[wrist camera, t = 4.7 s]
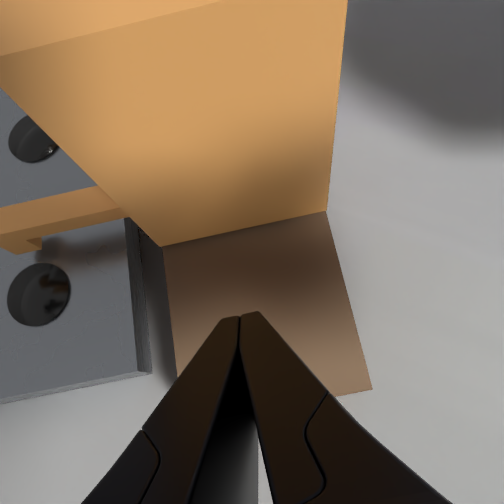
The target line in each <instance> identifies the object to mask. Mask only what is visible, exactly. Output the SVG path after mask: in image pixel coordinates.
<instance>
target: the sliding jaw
mask: <svg viewBox="0 0 504 504" xmlns="http://www.w3.org/2000/svg"><path fill="white" fill-rule="evenodd" d="M347 3H348V0H0V88H1V89H2V90H3V91H4V92H5V93H6V94H7V95H8V96H9V97H10V98H11V99H12V100H13V101H14V102H15V103H16V104H17V105H18V106H19V107H20V108H21V109H22V110H23V111H24V112H25V113H26V114H27V115H28V116H29V117H30V118H31V119H32V120H33V121H34V122H35V123H36V124H37V125H38V126H39V127H40V128H41V129H42V130H43V131H44V132H45V133H46V134H47V135H48V136H49V137H50V138H51V139H52V140H53V141H54V142H55V143H56V144H57V145H58V146H59V147H60V148H61V149H62V150H63V151H64V152H65V153H66V154H67V155H68V156H69V157H70V158H71V159H72V160H73V161H74V162H75V163H76V164H77V165H78V166H79V167H80V168H81V169H82V170H83V171H84V172H85V173H86V174H87V175H88V176H89V177H90V178H91V179H92V180H93V181H94V182H95V183H96V184H97V186H93V187H89V188H84V189H80V190H75V191H71V192H67V193H62V194H58V195H53V196H49V197H45V198H40V199H36V200H32V201H27V202H23V203H18V204H14V205H10V206H5V207H1V208H0V247H1V248H3V249H5V250H7V251H9V252H11V253H13V254H16V255H18V254H23V253H27V252H32V251H36V250H41V249H42V236H46V235H51V234H55V233H60V232H64V231H69V230H73V229H78V228H82V227H87V226H91V225H96V224H100V223H105V222H109V221H114V220H118V219H123V218H127V217H130V218H131V219H132V220H133V221H134V222H135V223H136V224H137V225H138V226H139V227H140V228H141V229H142V230H143V231H144V232H145V233H146V234H147V235H148V236H149V237H150V238H151V239H152V240H153V241H154V242H155V243H156V244H157V245H158V246H159V247H162V246H166V245H171V244H175V243H180V242H185V241H189V240H194V239H198V238H203V237H207V236H212V235H217V234H221V233H226V232H230V231H235V230H240V229H244V228H249V227H253V226H258V225H263V224H267V223H272V222H276V221H281V220H285V219H290V218H295V217H299V216H304V215H308V214H313V213H318V212H322V211H327V203H328V193H329V183H330V173H331V163H332V153H333V143H334V133H335V123H336V113H337V103H338V93H339V83H340V73H341V63H342V53H343V43H344V33H345V23H346V13H347Z"/></svg>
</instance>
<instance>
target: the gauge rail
mask: <svg viewBox="0 0 504 504" xmlns="http://www.w3.org/2000/svg"><path fill="white" fill-rule="evenodd" d="M162 251H163V260H164V268H165V276H166V285H167V293H168V301H169V310H170V318H171V326H172V335H173V343H174V351H175V360H176V368H177V377H179V375H180V374H181V373H182V371H183V370H184V369H185V367H186V366H187V365H188V363H189V362H190V360H191V359H192V358H193V356H194V355H195V354H196V352H197V351H198V349H199V348H200V347H201V345H202V344H203V343H204V341H205V340H206V338H207V337H208V336H209V334H210V333H211V332H212V330H213V329H214V327H215V326H216V325H217V323H218V322H219V321H220V320H221V319H222V318H226V317H231V316H236V315H238V316H240V317H241V315H242V314H245V313H250V312H255V311H259V312H260V313H261V314H262V315H263V316H264V317H265V318H266V319H267V321H268V322H269V323H270V324H271V325H272V326H273V327H274V329H275V330H276V331H277V332H278V333H279V334H280V335H281V337H282V338H283V339H284V340H285V341H286V342H287V343H288V345H289V346H290V347H291V348H292V349H293V350H294V351H295V353H296V354H297V355H298V356H299V357H300V358H301V359H302V361H303V362H304V363H305V364H306V365H307V366H308V367H309V369H310V370H311V371H312V372H313V373H314V374H315V376H316V377H317V378H318V379H319V380H320V381H321V382H322V384H323V385H324V386H325V387H326V388H327V389H328V390H329V392H330V394H332V395H333V396H334V397H336V396H341V395H347V394H352V393H357V392H362V391H367V390H372V385H371V381H370V378H369V374H368V370H367V366H366V362H365V359H364V355H363V351H362V347H361V343H360V340H359V336H358V332H357V328H356V324H355V321H354V317H353V313H352V309H351V305H350V302H349V298H348V294H347V290H346V286H345V283H344V279H343V275H342V271H341V267H340V264H339V260H338V256H337V252H336V249H335V245H334V241H333V237H332V233H331V230H330V226H329V222H328V218H327V214H326V211H322V212H318V213H313V214H308V215H304V216H299V217H295V218H290V219H285V220H281V221H276V222H272V223H267V224H263V225H258V226H253V227H249V228H244V229H240V230H235V231H230V232H226V233H221V234H217V235H212V236H207V237H203V238H198V239H194V240H189V241H185V242H180V243H175V244H171V245H166V246H162Z"/></svg>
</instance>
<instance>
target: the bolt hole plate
mask: <svg viewBox="0 0 504 504" xmlns="http://www.w3.org/2000/svg"><path fill="white" fill-rule="evenodd" d="M93 186H97V184H96V183H95V182H94V181H93V180H92V179H91V178H90V177H89V176H88V175H87V174H86V173H85V172H84V171H83V170H82V169H81V168H80V167H79V166H78V165H77V164H76V163H75V162H74V161H73V160H72V159H71V158H70V157H69V156H68V155H67V154H66V153H65V152H64V151H63V150H62V149H61V148H60V147H59V146H58V145H57V144H56V143H55V142H54V141H53V140H52V139H51V138H50V137H49V136H48V135H47V134H46V133H45V132H44V131H43V130H42V129H41V128H40V127H39V126H38V125H37V124H36V123H35V122H34V121H33V120H32V119H31V118H30V117H29V116H28V115H27V114H26V113H25V112H24V111H23V110H22V109H21V108H20V107H19V106H18V105H17V104H16V103H15V102H14V101H13V100H12V99H11V98H10V97H9V96H8V95H7V94H6V93H5V92H4V91H3V90H2V89H1V88H0V208H1V207H5V206H10V205H14V204H18V203H23V202H27V201H32V200H36V199H40V198H45V197H49V196H53V195H58V194H62V193H67V192H71V191H75V190H80V189H84V188H89V187H93ZM147 374H152V364H151V354H150V344H149V334H148V324H147V314H146V304H145V294H144V285H143V275H142V265H141V255H140V245H139V235H138V225H137V224H136V223H135V222H134V221H133V220H132V219H131V218H130V217H127V218H123V219H118V220H114V221H109V222H105V223H100V224H96V225H91V226H87V227H82V228H78V229H73V230H69V231H64V232H60V233H55V234H51V235H46V236H42V249H41V250H36V251H32V252H27V253H23V254H18V255H16V254H13V253H11V252H9V251H7V250H5V249H3V248H1V247H0V404H3V403H8V402H13V401H18V400H23V399H28V398H33V397H38V396H43V395H48V394H53V393H58V392H63V391H68V390H73V389H78V388H83V387H88V386H93V385H98V384H103V383H108V382H113V381H118V380H123V379H127V378H132V377H137V376H142V375H147Z"/></svg>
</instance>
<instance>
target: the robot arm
mask: <svg viewBox="0 0 504 504" xmlns="http://www.w3.org/2000/svg"><path fill="white" fill-rule="evenodd" d="M258 438H259V442H260V447H261V451H262V456H263V460H264V464H265V469H266V473H267V478H268V482H269V487H270V491H271V496H272V500H273V504H453V503H451V502H450V501H449V500H447V499H446V498H445V497H444V496H442V495H441V494H440V493H439V492H437V491H436V490H435V489H434V488H433V487H432V486H430V485H429V484H428V483H427V482H426V481H424V480H423V479H422V478H421V477H420V476H419V475H417V474H416V473H415V472H414V471H413V470H412V469H410V468H409V467H408V466H407V465H406V464H405V463H403V462H402V461H401V460H400V459H399V458H398V457H396V456H395V455H394V454H393V453H392V452H391V451H389V450H388V449H387V448H386V447H385V446H384V445H382V444H381V443H380V442H379V441H378V440H377V439H376V438H374V437H373V436H372V435H371V434H370V433H369V432H368V431H367V430H366V429H365V428H364V427H362V426H361V425H360V424H359V423H358V422H357V421H356V420H355V419H354V418H353V417H352V416H351V414H350V413H349V412H348V411H347V410H346V409H345V408H344V407H343V406H342V405H341V404H340V403H339V401H338V400H337V399H336V398H335V397H334V396H333V395H332V394H330V392H329V390H328V389H327V388H326V387H325V386H324V385H323V384H322V382H321V381H320V380H319V379H318V378H317V377H316V376H315V374H314V373H313V372H312V371H311V370H310V369H309V367H308V366H307V365H306V364H305V363H304V362H303V361H302V359H301V358H300V357H299V356H298V355H297V354H296V353H295V351H294V350H293V349H292V348H291V347H290V346H289V345H288V343H287V342H286V341H285V340H284V339H283V338H282V337H281V335H280V334H279V333H278V332H277V331H276V330H275V329H274V327H273V326H272V325H271V324H270V323H269V322H268V321H267V319H266V318H265V317H264V316H263V315H262V314H261V313H260V312H259V311H255V312H250V313H245V314H242V315H241V317H240V316H238V315H236V316H231V317H226V318H222V319H221V320H220V321H219V322H218V323H217V325H216V326H215V327H214V329H213V330H212V332H211V333H210V334H209V336H208V337H207V338H206V340H205V341H204V343H203V344H202V345H201V347H200V348H199V349H198V351H197V352H196V354H195V355H194V356H193V358H192V359H191V360H190V362H189V363H188V365H187V366H186V367H185V369H184V370H183V371H182V373H181V374H180V375H179V377H178V378H177V380H176V381H175V382H174V384H173V385H172V386H171V388H170V389H169V391H168V392H167V393H166V395H165V396H164V397H163V399H162V400H161V402H160V403H159V404H158V406H157V407H156V408H155V410H154V411H153V413H152V414H151V415H150V417H149V418H148V419H147V421H146V422H145V424H144V425H143V426H142V430H140V431H139V432H138V433H137V434H136V436H135V437H134V438H133V440H132V441H131V443H130V444H129V445H128V447H127V448H126V449H125V451H124V452H123V453H122V454H121V456H120V457H119V458H118V460H117V461H116V462H115V464H114V465H113V466H112V467H111V469H110V470H109V471H108V472H107V474H106V475H105V476H104V477H103V478H102V480H101V481H100V482H99V483H98V484H97V485H96V487H95V488H94V489H93V490H92V491H91V493H90V494H89V495H88V496H87V497H86V498H85V500H84V501H83V502H82V503H81V504H258Z"/></svg>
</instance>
